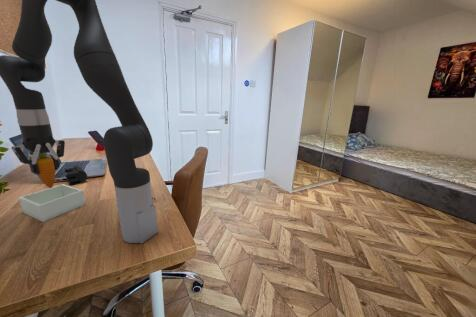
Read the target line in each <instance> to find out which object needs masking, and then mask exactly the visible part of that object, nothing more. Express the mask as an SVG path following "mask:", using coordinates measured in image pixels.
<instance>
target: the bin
mask: <svg viewBox="0 0 476 317" xmlns="http://www.w3.org/2000/svg"><path fill="white" fill-rule="evenodd" d="M18 201H19V203H20V207H21V211H22V213H23V214H25V215H27V216H29V217H32V218H33V219H36V220H38V221H40V222H42V223H45V222H47V221H50V220H53V219H55V218H57V217H59V216H62V215H64V214H67V213H69V212H72V211H74V210H77V209H78V208H81V207H83V206H86V199H85V194H84V190H82V189H80V188H76V187H74V186H70V185H67V184H64V183H62V184H59V185H56V186H53V187H52V188H49V187H48V188H45V189H41V190H39V191H35V192H32V193H28V194H24V195H22V196H19V197H18Z"/></svg>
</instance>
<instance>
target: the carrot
mask: <svg viewBox="0 0 476 317" xmlns="http://www.w3.org/2000/svg"><path fill="white" fill-rule="evenodd" d="M36 164H37V165H38V169H39V173H40V174H38V176H39V178H40V180H41V181H42V183H43V184H44V185H45V186H46V187H48V188H52V187H54V185H55V181H56V170H55V166H54V161H53V159H52V158H51V157H50V156H47V153H40V152H39V155H38V158H37V162H36Z"/></svg>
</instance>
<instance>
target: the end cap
mask: <svg viewBox="0 0 476 317" xmlns="http://www.w3.org/2000/svg"><path fill="white" fill-rule="evenodd" d="M64 173H66V174H65V178H66V181H67V183H68V186H71V187H73V186H77V185H81V184H83V183H84V182H85V181H86V180H87V179H88V173H87V172H86V171H85V170H84V169H83V168H82V167H81V166H80V165H74V167H70V168H64Z"/></svg>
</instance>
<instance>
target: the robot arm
mask: <svg viewBox="0 0 476 317" xmlns="http://www.w3.org/2000/svg"><path fill="white" fill-rule="evenodd" d="M55 1H57V2H60V3H62V4H65V5H68V6H69V7H70V8H71V9H72V11H73V14H74V15H75V18H76V21H77V23H78V31H77V32H78V33H77V35H76V38H75V41H74V47H73V57H74V60H75V63H76V64H77V67H78V69H79V72H80V74H81V77H82V78H83V81H84V82H85V84H86V85H87V86H88V87H89V88H90V90H92V92H94V93H95V94H96V96H98V97H99V98H100V99H101V100H102V101H103V102H105V104H107V105H108V106H109V107H110V108H111V110H112V111H113V112H114V114H115V115H116V117H117V119H118V121H119V122H120V124H121V126H115V127H111V128H108V129H107V130H106V131H105V133H104V134H103V148H104V153H105V157H106V158H105V159H106V162H107V166H108V170H109V174H110V176H111V178H112V180H113V183H114V184H113V185H114V191H115V198H116V204H117V210H118V218H119V223H120V230H121V236H122V237H121V238H122V240H123V241H124V242H125V243H128V244H137V243H139V244H144V243H145V242H147V241H148V240H149V239H150V238H152V237H154V236H155V235H156V234H157V233H158V232H159V230H158V220H157V210H156V205H155V204H153V199H152V197H153V196H152V186H151V185H152V184H151V175H150V171H149V170H148V169H145V168H143V167H137V165H136V160H135V159H138V158H142V157H144V156H147V155H149V154H150V153H151V152H152V150H153V146H154V145H153V143H154V142H153V137H152V134H151V132H150V129H149V127H148V126H147V124H146V122H145V120H144V118H143V116H142V114H141V112H140V110H139V109H138V107H137V105H136V102H135V100H134V99H133V96H132V93H131V91H130V89H129V86H128V85H127V82H126V80H125V77H124V73H123V71H122V69H121V65H120V63H119V61H118V59H117V56H116V53H115V51H114V50H113V47H112V45H111V42H110V39H109V37H108V35H107V33H106V29H105V27H104V24H103V21H102V19H101V15H100V11H99V8H98V5H97V2H96V0H55ZM47 2H48V0H21V11H20V17H19V18H20V19H19V22H18V26H17V29H16V31H15V32H16V33H15V34H14V38H13V41H12V44H11V49H12V51H13V53H14V54H15V55H16V56H13V55H6V54H5V55H4V54H3V55H0V78H1V79H2V81H3V83H4V84H5V86H6V87H7V89H8V91H9V92H10V95H11V97H12V101H13V103H14V107H15V108H14V109H15V110H16V118H17V123H18V127H19V130H20V133H21V138H22V144H20V145H17V146H14V145H13V146H12V147H11V150H12V152H13V153H14V154H15V156H16V157H17V159H18V161H19V162H20V163H21V164H25V165H29V169H30V172H31V173H32V174H34V175H38V176H39V174H40V173H39V169H38V165H37V164H36V162H37V159H38V158H39V156H38V155H39V152H40V153H41V154H42V153H46V155H48V157H50V158H52V159H53V161H54V166H55V171H58V170H59V168H60V162H59V159H60V158H63V157H64V156H65V146H66V142H65V140H63V139H55V138H54V136H53V131H52V127H51V126H52V125H51V122H50V117H49V113H48V111H47V109H46V105H45V100H44V96H43V93H42V92H40V91H38V90H35V89H30V88H27V87H26V86H25V85H24V84H23V83H22V82H24V83H40V82H42V81H43V80H44V79H45V77H46V58H47V54H48V52H49V51H50V49H51V47H52V44H53V34H52V30H51V27H50V24H49V23H48V21H47V20H48V19H47V18H46V14H45V7H46V4H47ZM54 146H56V151H55V150H54V148H53V147H54ZM25 149H26V150H28V157H27V156H26V155H25V153H24V152H25Z"/></svg>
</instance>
